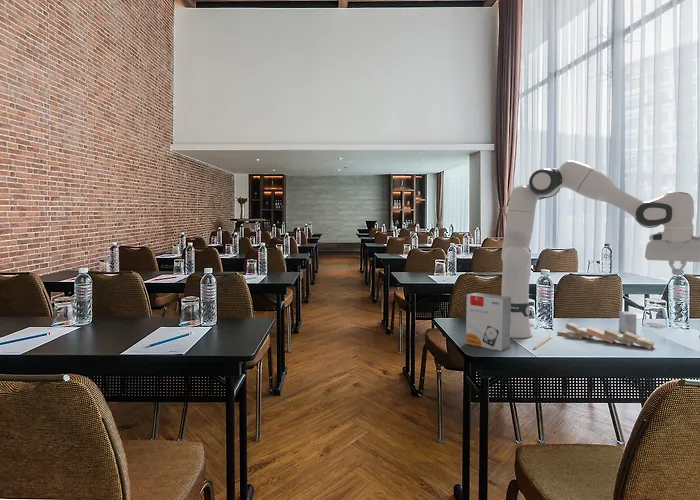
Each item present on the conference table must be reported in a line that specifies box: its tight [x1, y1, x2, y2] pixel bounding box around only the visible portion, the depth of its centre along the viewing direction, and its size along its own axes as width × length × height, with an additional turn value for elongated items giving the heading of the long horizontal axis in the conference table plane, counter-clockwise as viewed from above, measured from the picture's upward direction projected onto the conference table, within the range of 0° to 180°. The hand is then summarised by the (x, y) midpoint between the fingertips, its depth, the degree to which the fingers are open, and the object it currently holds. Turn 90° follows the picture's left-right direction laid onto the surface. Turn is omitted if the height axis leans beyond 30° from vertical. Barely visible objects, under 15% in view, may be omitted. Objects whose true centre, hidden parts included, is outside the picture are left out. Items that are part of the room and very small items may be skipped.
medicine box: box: [618, 310, 637, 335], centre depth 206 cm, size 8×4×9 cm, turn 168°
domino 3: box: [586, 325, 616, 344], centre depth 191 cm, size 2×5×10 cm
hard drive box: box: [465, 292, 511, 352], centre depth 183 cm, size 16×8×20 cm, turn 46°
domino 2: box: [564, 321, 594, 339], centre depth 197 cm, size 2×5×10 cm
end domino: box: [622, 331, 655, 350], centre depth 182 cm, size 2×5×10 cm
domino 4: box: [603, 328, 635, 347], centre depth 187 cm, size 2×5×10 cm
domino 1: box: [556, 329, 586, 340], centre depth 200 cm, size 2×5×10 cm
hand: (677, 273), depth 173 cm, fingers closed
